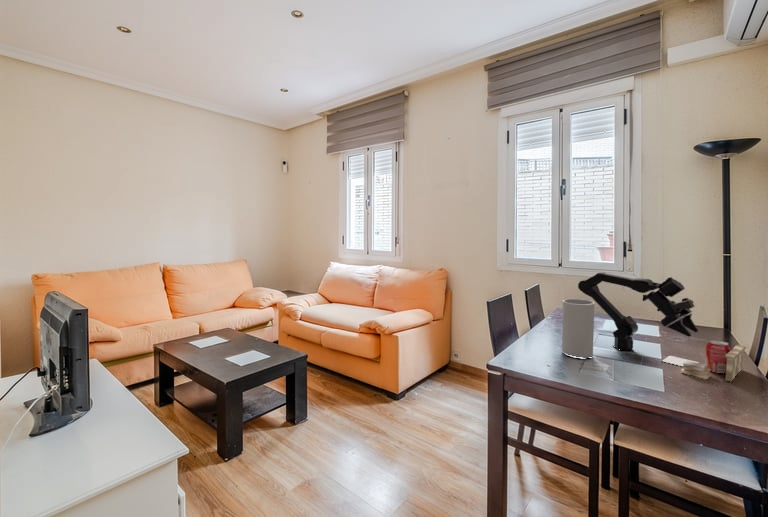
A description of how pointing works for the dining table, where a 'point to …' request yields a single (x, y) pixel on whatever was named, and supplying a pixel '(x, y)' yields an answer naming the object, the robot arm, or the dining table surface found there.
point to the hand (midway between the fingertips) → (693, 333)
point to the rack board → (734, 362)
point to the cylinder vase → (578, 327)
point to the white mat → (676, 360)
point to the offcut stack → (696, 369)
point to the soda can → (716, 356)
